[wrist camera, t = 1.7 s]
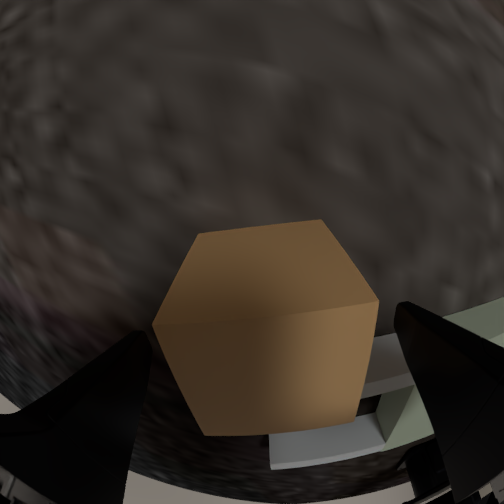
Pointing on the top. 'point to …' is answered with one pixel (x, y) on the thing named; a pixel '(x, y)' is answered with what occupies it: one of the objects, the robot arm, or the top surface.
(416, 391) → the two-pronged gray clamp
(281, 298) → the cardboard shipping carton
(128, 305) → the top surface
